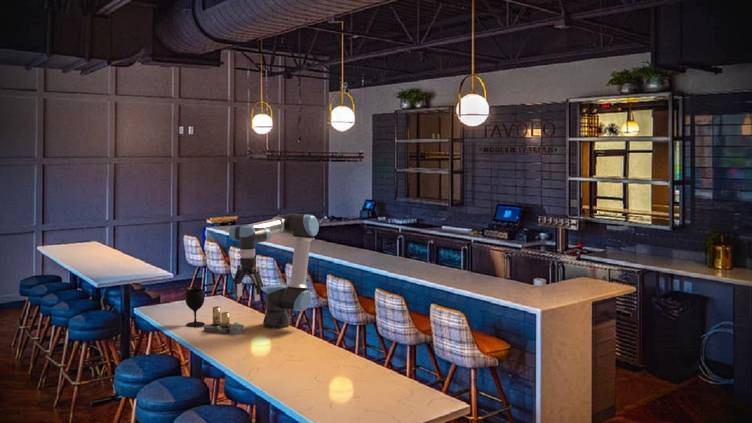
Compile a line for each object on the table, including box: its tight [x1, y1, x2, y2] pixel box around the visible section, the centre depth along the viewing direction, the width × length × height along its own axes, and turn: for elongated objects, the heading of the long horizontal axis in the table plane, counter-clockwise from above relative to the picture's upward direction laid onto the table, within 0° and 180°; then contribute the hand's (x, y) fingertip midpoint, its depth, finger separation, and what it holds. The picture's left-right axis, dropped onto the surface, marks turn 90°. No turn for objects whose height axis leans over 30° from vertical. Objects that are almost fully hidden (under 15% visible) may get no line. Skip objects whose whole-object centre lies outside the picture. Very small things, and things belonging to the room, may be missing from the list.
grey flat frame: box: [203, 322, 234, 335], centre depth 352 cm, size 11×14×2 cm
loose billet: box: [212, 305, 222, 323], centre depth 363 cm, size 4×4×10 cm
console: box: [229, 323, 245, 336], centre depth 347 cm, size 6×5×4 cm
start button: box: [233, 321, 240, 327], centre depth 347 cm, size 3×3×2 cm
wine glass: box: [184, 288, 205, 328], centre depth 361 cm, size 10×10×20 cm
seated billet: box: [221, 311, 231, 328], centre depth 350 cm, size 4×4×10 cm
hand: (248, 298), depth 319 cm, fingers open, 13 cm apart
